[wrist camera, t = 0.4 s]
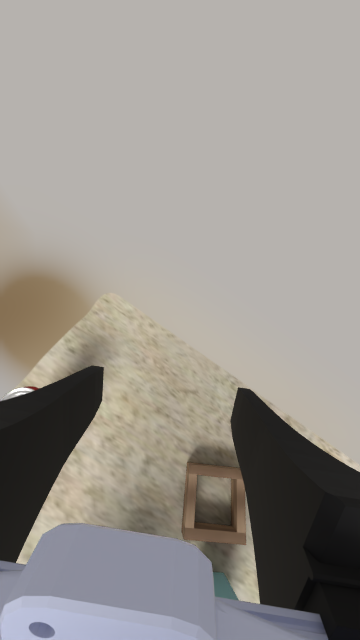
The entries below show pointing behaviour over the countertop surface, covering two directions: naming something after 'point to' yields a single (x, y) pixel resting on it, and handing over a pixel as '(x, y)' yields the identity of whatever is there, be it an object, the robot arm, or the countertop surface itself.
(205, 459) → the countertop surface
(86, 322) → the countertop surface
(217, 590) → the light blue block
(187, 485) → the well frame
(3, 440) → the robot arm
